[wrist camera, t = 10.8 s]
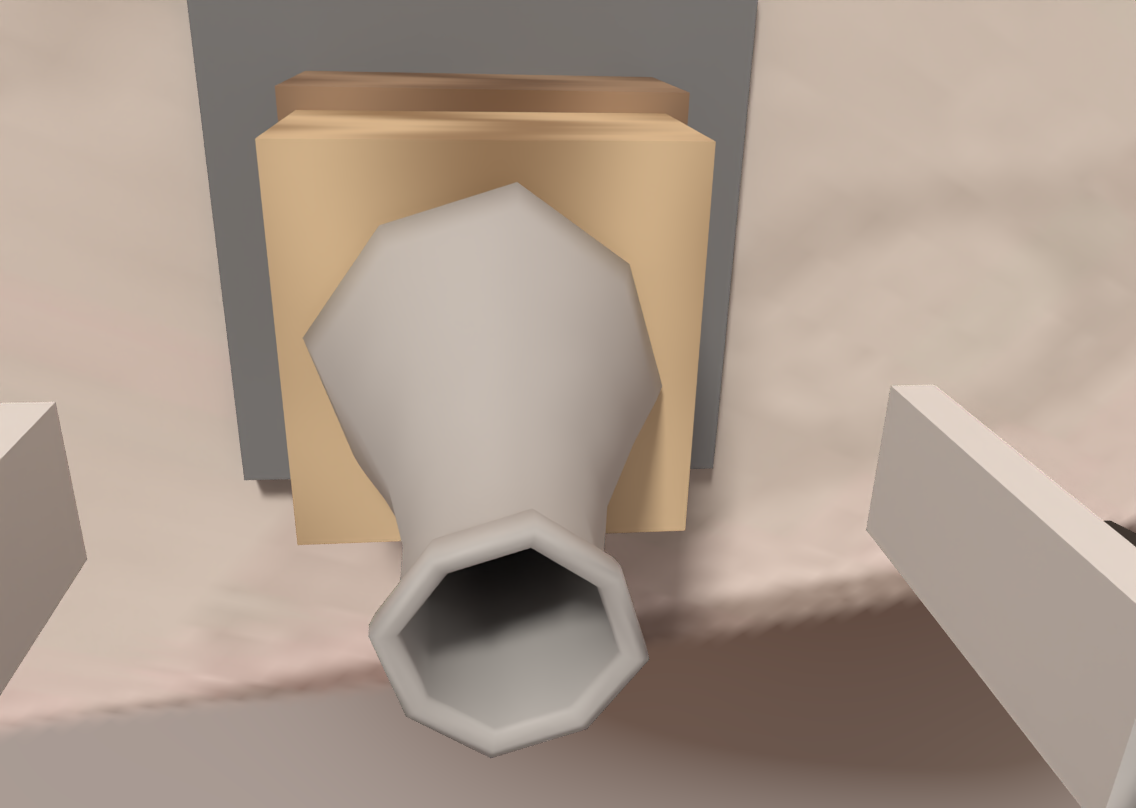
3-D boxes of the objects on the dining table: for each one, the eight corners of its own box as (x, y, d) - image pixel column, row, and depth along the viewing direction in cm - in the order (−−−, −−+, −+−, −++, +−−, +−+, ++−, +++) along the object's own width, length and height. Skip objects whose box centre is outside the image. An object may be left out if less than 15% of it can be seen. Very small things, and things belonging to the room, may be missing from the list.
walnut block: (330, 395, 31) (309, 464, 26) (305, 70, 27) (275, 85, 23) (634, 390, 32) (664, 456, 28) (651, 77, 28) (690, 92, 24)
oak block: (325, 449, 26) (297, 545, 22) (295, 110, 23) (254, 138, 18) (646, 440, 27) (685, 530, 23) (666, 113, 24) (715, 141, 19)
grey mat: (250, 466, 33) (244, 480, 32) (190, -49, 27) (180, -50, 26) (706, 455, 34) (712, 468, 34) (750, -31, 28) (760, -32, 27)
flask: (714, 388, 21) (907, 682, 12) (455, 560, 22) (453, 952, 13) (526, 113, 19) (594, 227, 9) (240, 325, 20) (52, 611, 10)
